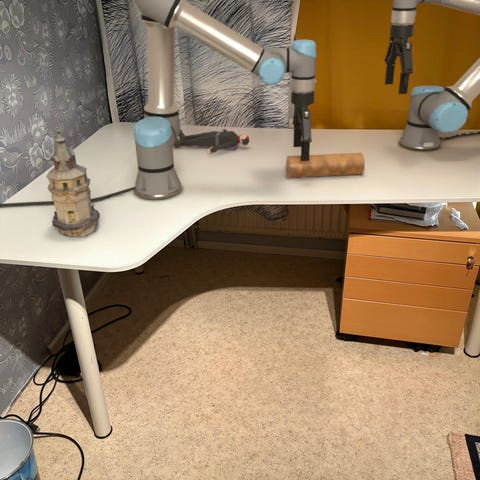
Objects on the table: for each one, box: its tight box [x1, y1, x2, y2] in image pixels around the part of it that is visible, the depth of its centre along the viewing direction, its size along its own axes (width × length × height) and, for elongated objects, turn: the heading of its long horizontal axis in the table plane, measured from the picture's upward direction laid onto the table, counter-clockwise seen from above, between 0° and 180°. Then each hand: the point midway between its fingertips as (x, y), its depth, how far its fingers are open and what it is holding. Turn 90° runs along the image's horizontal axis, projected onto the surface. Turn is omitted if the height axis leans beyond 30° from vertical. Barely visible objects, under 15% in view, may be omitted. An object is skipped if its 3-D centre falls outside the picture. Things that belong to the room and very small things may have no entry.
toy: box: [173, 128, 250, 154], centre depth 214 cm, size 26×6×30 cm
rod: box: [285, 152, 365, 179], centre depth 186 cm, size 26×7×7 cm, turn 95°
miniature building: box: [46, 129, 101, 237], centre depth 148 cm, size 13×14×30 cm
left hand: (301, 153), depth 184 cm, fingers open, 13 cm apart
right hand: (395, 88), depth 187 cm, fingers open, 13 cm apart
